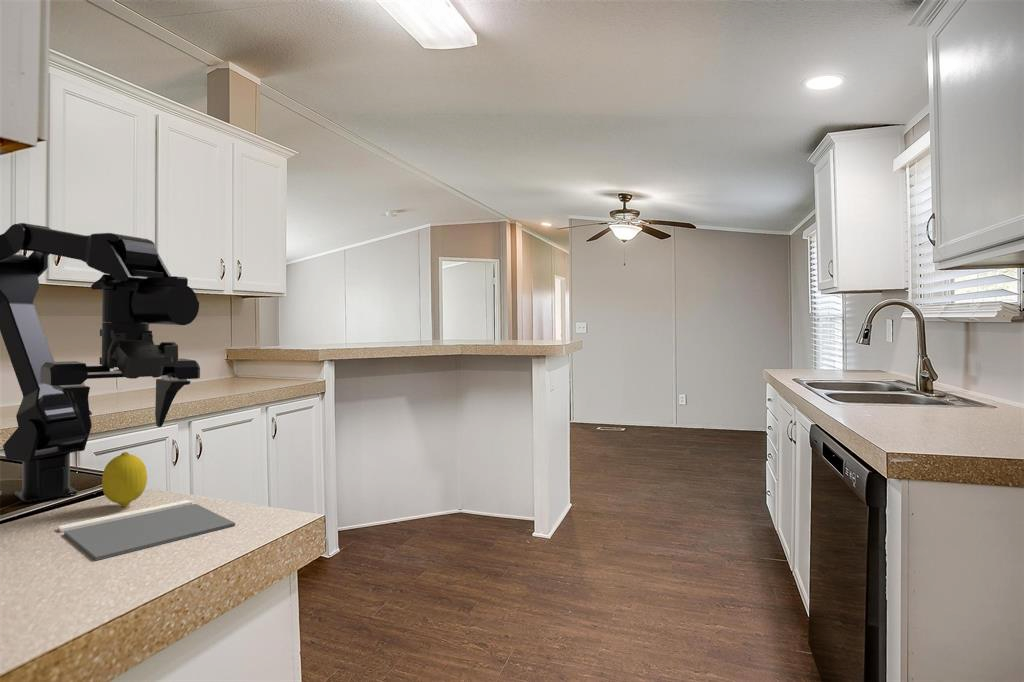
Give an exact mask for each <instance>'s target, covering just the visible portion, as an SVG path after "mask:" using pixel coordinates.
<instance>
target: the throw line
mask: <svg viewBox="0 0 1024 682" xmlns="http://www.w3.org/2000/svg"><path fill="white" fill-rule="evenodd" d="M192 504H193V501H191V500H189V499H185V500H180V501H175V502H171V503H170V502H169V503H165V504H160V505H156V506H155V505H154V506H149V507H146V508H140V509H135V510H131V511H126V512H125V511H124V512H121V513H120V512H119V513H115V514H111V515H106V516H102V517H97V518H91V519H87V520H82V521H77V522H76V521H75V522H71V523H67V524H66V523H65V524H62V525H58V526H57V530H59V532H60V533H64V531H68V530H73V529H78V528H82V527H87V526H92V525H97V524H102V523H106V522H111V521H116V520H121V519H125V518H130V517H135V516H140V515H144V514H149V513H154V512H159V511H163V510H168V509H173V508H178V507H182V506H187V505H192Z"/></svg>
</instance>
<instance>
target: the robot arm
mask: <svg viewBox="0 0 1024 682" xmlns="http://www.w3.org/2000/svg"><path fill="white" fill-rule="evenodd" d="M20 251H28V252H31V253H30V255H29V256H26V255H24V254H18V253H19V252H20ZM49 255H54V256H58V257H64V258H69V259H74V260H77V261H78V260H79V261H82V262H83V263H85V264H86V265H87V266H88V267H89V268H91V269H93V270H95V271H98V272H100V273H103V274H102V276H101V277H100V278H99V279H98V280H96V281H94V282H93V283H92V284H91V285H90V289H91V290H93V291H102V306H101V308H102V316H101V320H102V321H101V328H100V329H99V337H101V356H100V357H99V362H98V363H99V365H87V363H84V362H80V361H77V360H75V361H74V360H72V361H71V360H69V361H66V360H65V361H55V360H54V357H53V354H52V351H51V348H50V345H49V343H48V341H47V337H46V335H45V332H44V331H45V330H44V328H43V325H42V323H41V320H40V318H39V315H38V312H37V309H36V307H35V304H34V300H35V298H36V296H37V293H38V290H39V289H40V281H39V277H41V275H42V274H44V273H45V272H46V270H47V269H48V267H49V263H48V261H49ZM188 279H189V278H187V277H186V276H172V274H171V273H170V271H169V270H168V268H167V266H166V265H165V263H164V261H163V260H162V257H161V256H160V254H159V252H158V251H157V248H156V244H155V242H154V241H153V240H151V239H149V238H142V237H136V236H131V235H124V234H119V233H113V232H98V233H91V234H89V235H84V234H79V233H73V232H68V231H63V230H58V229H52V228H50V227H48V226H44V225H37V224H31V223H25V222H19V223H14V224H12V225H11V226H10V227H8V229H6V231H5V232H4V233H2V234H0V335H1V338H2V340H3V342H4V346H5V348H6V351H7V353H8V357H9V359H10V361H11V362H10V363H11V365H12V368H13V371H14V373H15V377H16V380H17V382H18V385H19V388H20V391H21V393H22V399H21V403H20V405H19V408H18V411H17V412H16V422H17V428H16V430H15V431H14V432H13V433H12V434H11V436H10V437H8V439H7V440H6V441H5V442H4V444H3V446H2V447H3V451H4V456H5V459H6V460H9V461H18V462H22V467H21V468H22V469H21V470H22V474H21V475H22V480H21V481H22V485H21V486H22V487H21V488H22V489H20V490H16V491H14V496H16V497H17V498H18V499H19V500H21V501H22V500H23V501H24V502H29V503H31V502H30V501H35V502H37V501H36V500H41V501H44V500H43V499H47V500H49V499H48V498H52V499H55V498H54V497H58V498H60V497H59V496H64V497H66V496H65V495H70V496H72V495H71V494H75V495H77V494H76V493H78V491H79V490H77V489H76V488H75V487H73V486H71V483H70V482H71V477H70V474H71V473H70V472H71V453H77V452H83V451H85V449H86V446H87V443H88V439H89V435H90V434H91V430H92V426H93V425H92V424H93V423H92V419H91V418H92V417H91V416H92V415H93V412H92V411H91V410H90V406H89V405H90V404H89V403H90V402H89V394H90V390H91V386H88V385H85V382H86V380H92V379H111V378H112V379H116V378H126V379H133V380H134V379H138V378H144V377H145V378H147V377H149V378H150V377H151V378H153V379H155V378H156V379H155V412H154V413H155V417H154V418H155V425H156V427H158V428H162V427H163V425H164V422H165V420H166V418H167V416H168V415H167V414H168V413H169V410H170V408H171V406H172V403H173V401H174V399H175V397H176V396H177V394H178V392H179V391H180V390H181V389H182V388H183V387H184V386H187V385H188V386H189V385H190V384H191V382H192V381H191V380H197V379H201V367H200V365H199V363H198V362H197V360H195V359H189V358H179V345H178V344H177V343H176V342H175V341H170V342H169V341H165V342H163V341H161V342H160V343H159V344H155V343H154V340H153V338H154V336H153V330H150V325H166V326H167V325H168V326H169V325H170V326H187V325H189V324H191V323H193V322H194V320H195V319H196V318H197V316H198V313H199V311H200V310H199V309H200V301H199V300H198V297H197V294H196V293H195V291H194V289H192V288H191V287H190V286H188V285H189V283H188ZM111 369H113V370H111ZM23 501H22V502H23ZM24 502H23V503H24Z"/></svg>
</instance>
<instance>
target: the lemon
mask: <svg viewBox="0 0 1024 682" xmlns="http://www.w3.org/2000/svg"><path fill="white" fill-rule="evenodd" d="M147 483H148V473H147V468H146V465H145V463H144V462H143V460H142V459H141V458H140V457H138V456H136V455H135V454H134V455H133V454H130V453H129V452H124V451H123V452H122V453H121V454H120V455H118V456H115V457H114V458H112V459H111V460H109V462H108V463H107V464H106V465H105V467H104V470H103V473H102V477H101V489H102V492H103V494H104V496H105V497H106V498H107V499H108V500H109V501H111V502H113V503H114V504H115V503H116V504H118V505H119V506H121V507H123V508H124V507H128V506H129V505H130V503H132V502H133V501H135V500H137V499H138V498H139V497H141V495H143V493H144V491H145V489H146V487H147Z"/></svg>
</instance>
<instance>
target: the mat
mask: <svg viewBox="0 0 1024 682" xmlns="http://www.w3.org/2000/svg"><path fill="white" fill-rule="evenodd" d="M235 526H236V522H234V521H232V520H230V519H228V518H226V517H224V516H223V515H220V514H218V513H216V512H213V511H212V510H210V509H208V508H206V507H203V506H202V505H199V504H198V503H192V505H187V506H182V507H178V508H173V509H168V510H163V511H159V512H154V513H149V514H144V515H140V516H135V517H130V518H125V519H121V520H116V521H111V522H106V523H102V524H97V525H92V526H87V527H82V528H78V529H73V530H68V531H64V532H63V535H64V536H66V537H67V538H68V539H69V540H70V541H71V542H73V543H74V544H75V545H76V546H78V547H79V548H80V549H81V550H83V551H84V552H85V553H86V554H87V555H88V556H90V557H91V558H92V559H94V560H95V561H99V560H104V559H107V558H111V557H116V556H119V555H123V554H127V553H132V552H136V551H140V550H143V549H144V550H145V549H148V548H152V547H156V546H160V545H164V544H168V543H172V542H176V541H179V540H184V539H188V538H191V537H196V536H199V535H204V534H207V533H212V532H216V531H219V530H224V529H227V528H231V527H235Z"/></svg>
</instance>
